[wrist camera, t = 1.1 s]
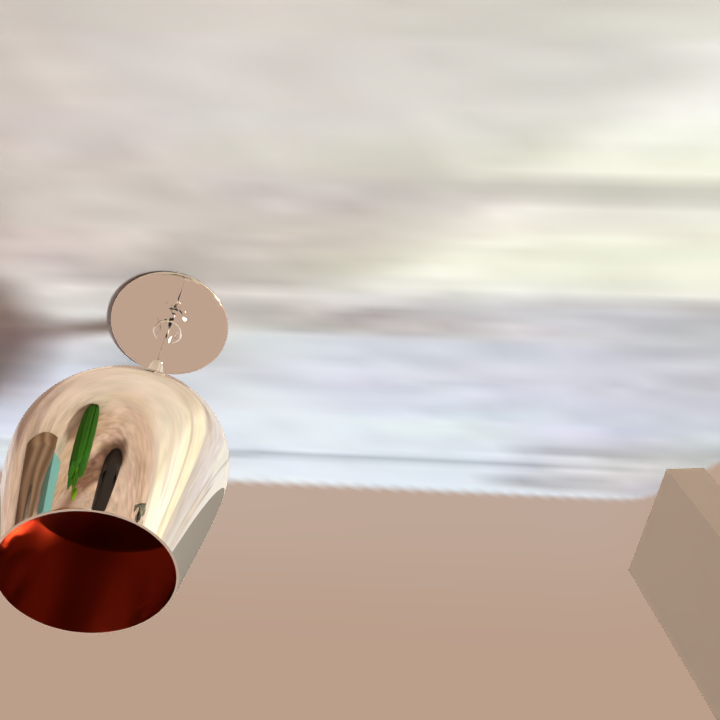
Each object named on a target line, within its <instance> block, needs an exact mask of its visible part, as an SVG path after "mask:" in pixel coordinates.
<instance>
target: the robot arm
mask: <svg viewBox="0 0 720 720" xmlns="http://www.w3.org/2000/svg"><path fill="white" fill-rule="evenodd" d="M629 571H630V573H631V575H632V576H633V578H634V580H635V582H636V583H637V585H638V587H639V588H640V590H641V592H642V594H643V595H644V597H645V599H646V600H647V602H648V604H649V605H650V607H651V609H652V610H653V612H654V614H655V616H656V617H657V619H658V621H659V622H660V624H661V626H662V628H663V629H664V631H665V633H666V634H667V636H668V637H669V639H670V641H671V643H672V644H673V646H674V648H675V650H676V651H677V653H678V655H679V656H680V658H681V660H682V661H683V663H684V665H685V667H686V668H687V670H688V672H689V673H690V675H691V677H692V678H693V680H694V682H695V683H696V685H697V687H698V689H699V690H700V692H701V694H702V695H703V697H704V699H705V701H706V702H707V704H708V705H709V707H710V709H711V711H712V712H713V714H714V716H715V718H716V719H717V720H720V486H719V485H718V484H717V482H716V481H715V480H714V479H713V478H712V477H711V475H710V474H709V473H708V472H707V471H706V470H705V469H704V468H691V469H667V470H666V472H665V475H664V478H663V480H662V483H661V485H660V488H659V491H658V493H657V496H656V499H655V501H654V504H653V507H652V509H651V512H650V515H649V517H648V520H647V523H646V525H645V528H644V531H643V533H642V536H641V539H640V541H639V544H638V547H637V550H636V552H635V555H634V557H633V560H632V563H631V565H630V568H629Z"/></svg>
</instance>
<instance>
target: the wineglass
mask: <svg viewBox="0 0 720 720" xmlns="http://www.w3.org/2000/svg"><path fill="white" fill-rule="evenodd" d="M111 327H112V331H113V334H114V337H115V339H116V341H117V343H118V345H119V346H120V348H121V349H122V350H123V351H124V353H125V354H126V355H127V356H128V357H130V358H131V359H132V360H133V361H135V362H136V363H138V364H139V365H141V366H143V367H139V366H129V365H114V366H104V367H98V368H93V369H89V370H86V371H83V372H80V373H77V374H74V375H72V376H70V377H68V378H66V379H64V380H62V381H60V382H58V383H57V384H55V385H54V386H52V387H51V388H49V389H48V390H47V391H45V392H44V393H43V394H42V395H41V396H39V397H38V398H37V399H36V400H35V401H34V402H33V403H32V405H31V406H30V407H29V408H28V410H27V411H26V412H25V414H24V415H23V417H22V418H21V420H20V421H19V423H18V425H17V427H16V429H15V431H14V434H13V436H12V439H11V441H10V444H9V448H8V451H7V455H6V459H5V463H4V468H3V473H2V479H1V485H0V595H1V597H2V598H3V599H4V600H5V601H6V602H7V603H8V604H9V605H10V606H11V607H12V608H13V609H14V610H16V611H17V612H18V613H20V614H21V615H23V616H24V617H26V618H28V619H30V620H32V621H34V622H36V623H38V624H40V625H43V626H46V627H49V628H52V629H55V630H59V631H64V632H69V633H76V634H109V633H115V632H120V631H125V630H128V629H132V628H135V627H137V626H140V625H142V624H144V623H146V622H148V621H150V620H151V619H153V618H155V617H156V616H157V615H159V614H160V613H161V612H162V611H163V610H164V609H165V608H166V607H167V606H168V605H169V604H170V602H171V601H172V599H173V598H174V596H175V594H176V592H177V590H178V588H179V587H180V585H181V583H182V581H183V579H184V577H185V575H186V574H187V572H188V570H189V568H190V566H191V564H192V562H193V560H194V559H195V557H196V555H197V553H198V551H199V549H200V547H201V545H202V543H203V541H204V539H205V537H206V535H207V533H208V531H209V529H210V527H211V525H212V523H213V521H214V519H215V516H216V514H217V512H218V510H219V507H220V505H221V502H222V499H223V496H224V493H225V490H226V486H227V481H228V475H229V451H228V445H227V441H226V437H225V434H224V431H223V429H222V427H221V424H220V422H219V420H218V419H217V417H216V415H215V414H214V412H213V411H212V409H211V408H210V407H209V405H208V404H207V403H206V402H205V401H204V400H203V399H202V398H201V397H200V396H199V395H198V394H197V393H196V392H195V391H194V390H193V389H191V388H190V387H189V386H187V385H186V384H184V383H183V382H181V381H179V380H178V379H176V378H174V377H172V376H170V375H167V374H185V373H190V372H194V371H197V370H199V369H201V368H203V367H205V366H207V365H208V364H210V363H211V362H212V361H213V360H214V359H215V358H216V357H217V356H218V355H219V354H220V352H221V351H222V349H223V347H224V345H225V343H226V340H227V335H228V319H227V315H226V312H225V309H224V307H223V305H222V303H221V301H220V300H219V298H218V297H217V296H216V295H215V293H214V292H213V291H212V290H211V289H210V288H208V287H207V286H206V285H205V284H203V283H202V282H200V281H198V280H196V279H194V278H192V277H190V276H187V275H184V274H180V273H175V272H155V273H150V274H146V275H143V276H140V277H138V278H136V279H134V280H133V281H131V282H130V283H129V284H127V285H126V286H125V287H124V288H123V289H122V290H121V291H120V293H119V294H118V296H117V297H116V299H115V301H114V304H113V307H112V311H111Z"/></svg>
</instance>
